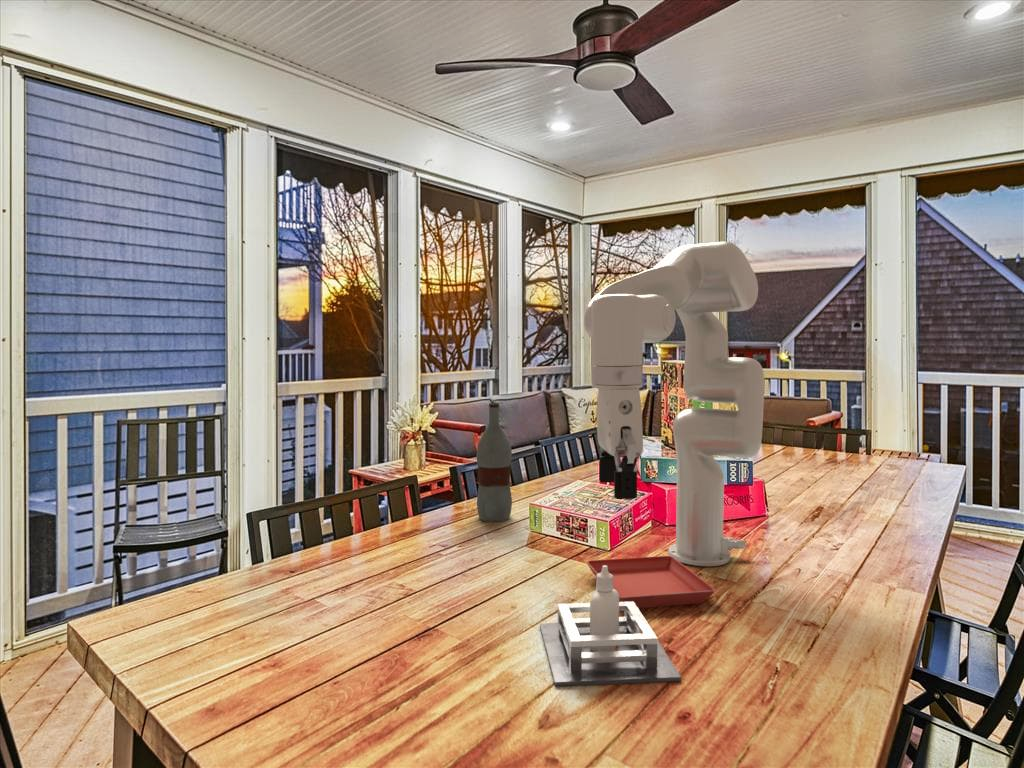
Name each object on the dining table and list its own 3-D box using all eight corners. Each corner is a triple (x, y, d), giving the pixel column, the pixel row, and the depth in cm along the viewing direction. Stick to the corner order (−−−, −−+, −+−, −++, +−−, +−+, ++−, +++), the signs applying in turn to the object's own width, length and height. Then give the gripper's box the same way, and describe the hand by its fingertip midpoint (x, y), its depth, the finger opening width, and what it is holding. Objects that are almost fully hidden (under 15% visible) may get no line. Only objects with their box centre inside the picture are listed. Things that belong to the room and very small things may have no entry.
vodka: (496, 510, 165) (496, 400, 163) (519, 517, 159) (519, 403, 157) (469, 517, 159) (468, 403, 157) (492, 524, 152) (491, 405, 150)
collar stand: (644, 623, 98) (644, 594, 98) (681, 681, 81) (681, 646, 81) (539, 627, 97) (539, 597, 97) (555, 686, 80) (555, 651, 80)
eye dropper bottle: (580, 643, 90) (580, 564, 89) (611, 635, 93) (612, 558, 92) (596, 657, 86) (597, 574, 85) (629, 648, 89) (629, 567, 88)
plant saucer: (671, 570, 122) (671, 554, 122) (717, 608, 105) (717, 589, 105) (585, 576, 119) (585, 560, 119) (617, 617, 101) (618, 597, 101)
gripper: (659, 381, 83) (659, 504, 84) (626, 373, 100) (626, 475, 101) (605, 382, 82) (605, 506, 83) (581, 374, 99) (581, 477, 101)
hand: (617, 489), depth 92 cm, fingers open, 9 cm apart
